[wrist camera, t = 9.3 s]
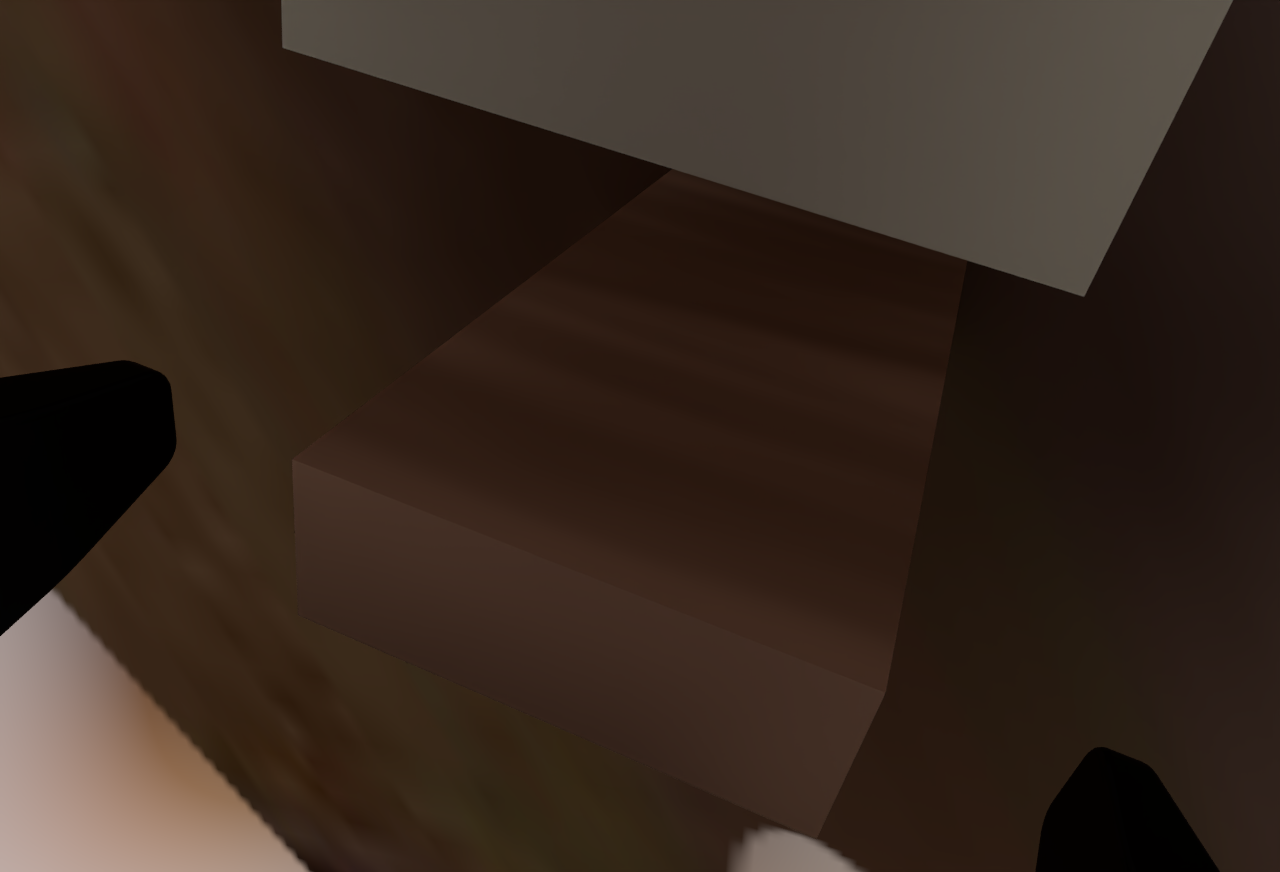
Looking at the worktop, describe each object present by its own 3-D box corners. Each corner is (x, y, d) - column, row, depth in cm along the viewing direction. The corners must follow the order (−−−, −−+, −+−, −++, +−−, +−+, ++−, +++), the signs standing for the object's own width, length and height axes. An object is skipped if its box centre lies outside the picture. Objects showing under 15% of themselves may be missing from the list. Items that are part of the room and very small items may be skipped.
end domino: (674, 167, 16) (291, 459, 8) (968, 253, 15) (886, 691, 7) (655, 265, 17) (297, 615, 9) (929, 352, 16) (815, 839, 8)
